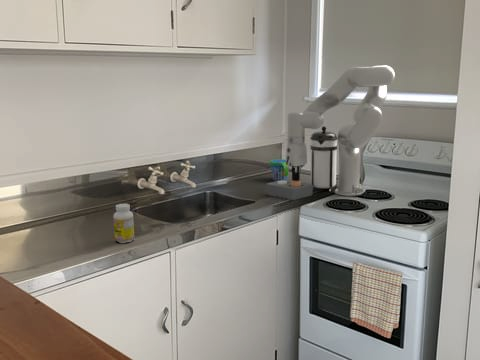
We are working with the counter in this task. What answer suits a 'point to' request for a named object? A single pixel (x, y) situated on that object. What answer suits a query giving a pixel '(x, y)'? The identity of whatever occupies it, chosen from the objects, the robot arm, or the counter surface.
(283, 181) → the plug
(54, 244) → the counter surface
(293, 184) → the terracotta plug
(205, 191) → the counter surface
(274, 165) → the snack cup
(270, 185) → the block
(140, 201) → the counter surface
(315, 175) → the coffee press
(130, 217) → the supplement bottle
